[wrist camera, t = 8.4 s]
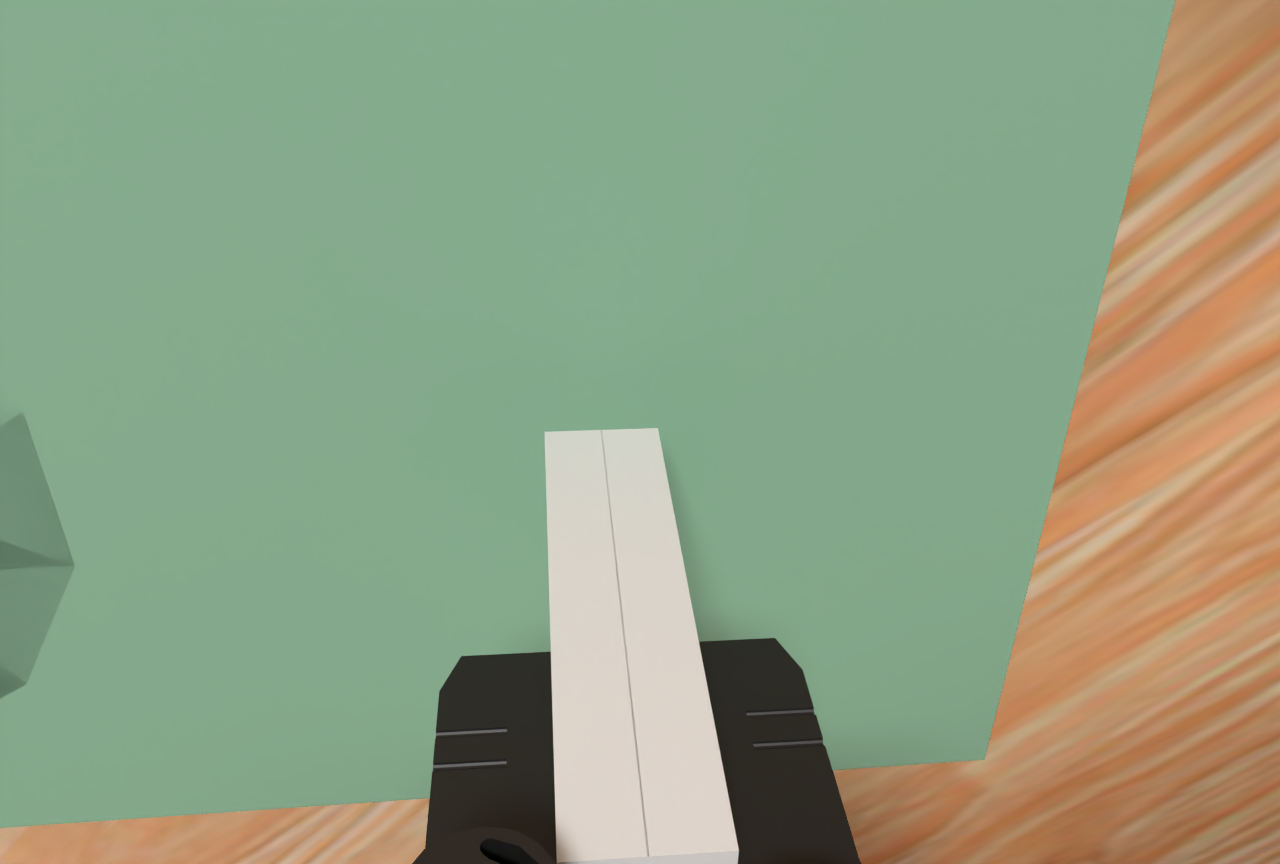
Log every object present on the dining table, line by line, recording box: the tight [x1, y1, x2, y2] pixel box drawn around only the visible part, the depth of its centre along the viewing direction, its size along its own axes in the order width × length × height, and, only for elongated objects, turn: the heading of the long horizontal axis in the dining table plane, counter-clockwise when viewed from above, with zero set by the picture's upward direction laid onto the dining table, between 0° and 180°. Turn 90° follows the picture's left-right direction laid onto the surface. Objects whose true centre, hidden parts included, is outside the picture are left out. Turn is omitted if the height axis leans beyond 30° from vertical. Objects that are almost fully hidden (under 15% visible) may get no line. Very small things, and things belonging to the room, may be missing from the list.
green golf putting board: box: [0, 0, 1175, 828], centre depth 16 cm, size 14×26×5 cm, turn 90°
